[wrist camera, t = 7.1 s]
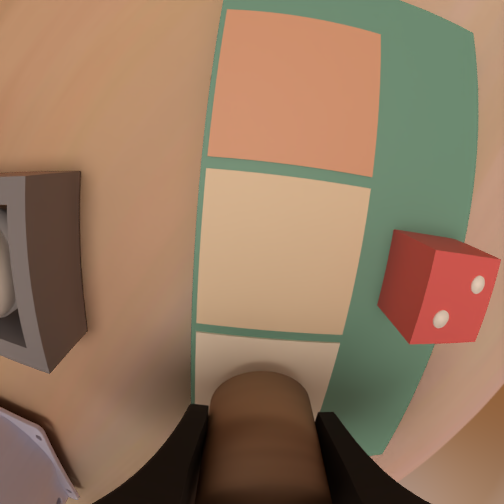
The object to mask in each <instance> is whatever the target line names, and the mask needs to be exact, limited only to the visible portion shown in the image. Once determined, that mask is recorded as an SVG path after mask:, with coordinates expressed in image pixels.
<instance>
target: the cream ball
mask: <svg viewBox="0 0 504 504" xmlns="http://www.w3.org/2000/svg"><path fill="white" fill-rule="evenodd" d="M17 308H18V307H17V302H16V296H15V290H14V284H13V277H12V270H11V261H10V252H9V240H8V225H7V205H0V318H2V317H6V316H8V315H9V314H11V313H12V312H13V311H15V310H16V309H17Z"/></svg>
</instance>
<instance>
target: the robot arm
mask: <svg viewBox="0 0 504 504" xmlns="http://www.w3.org/2000/svg"><path fill="white" fill-rule="evenodd" d="M208 410H209V406H208V405H200V404H193V403H192V404H190V405H189V406H188V409H187V411H186V412H185V414H184V416H183V418H182V419H181V421H180V422H179V424H178V425H177V427H176V428H175V430H174V431H173V433H172V434H171V435H170V437H169V438H168V439H167V441H166V442H165V443H164V444H163V446H162V447H161V448H160V449H159V450H158V451H157V452H156V454H155V455H154V456H153V457H152V458H151V459H150V460H149V461H148V462H147V463H146V464H145V465H144V466H143V467H142V468H141V469H140V470H139V471H138V472H137V473H135V474H134V475H133V476H132V477H131V478H129V479H128V480H127V481H126V482H124V483H123V484H122V485H121V486H119V487H118V488H116V489H115V490H114V491H112V492H110V493H109V494H107V495H106V496H104V497H103V498H101V499H99V500H98V501H96V502H94V503H92V504H195V498H196V491H197V484H198V478H199V471H200V465H201V458H202V452H203V445H204V440H205V435H206V429H207V422H208ZM315 425H316V430H317V434H318V439H319V443H320V448H321V452H322V457H323V462H324V466H325V471H326V476H327V480H328V485H329V490H330V495H331V499H332V504H430V503H429V502H427V501H424V500H423V499H421V498H420V497H418V496H416V495H415V494H413V493H412V492H410V491H409V490H407V489H406V488H404V487H403V486H401V485H400V484H399V483H397V482H396V481H395V480H394V479H392V478H391V477H390V476H389V475H388V474H387V473H385V472H384V471H383V470H382V469H381V468H380V467H379V466H378V465H377V464H376V463H375V462H374V461H373V460H372V459H371V458H370V457H369V456H368V454H367V453H366V452H365V451H364V450H363V449H362V448H361V446H360V445H359V444H358V443H357V442H356V440H355V439H354V438H353V437H352V435H351V434H350V433H349V431H348V430H347V429H346V428H345V426H344V425H343V424H342V422H341V421H340V419H339V418H338V417H337V415H336V414H335V413H334V412H318V414H317V417H316V420H315ZM68 497H70V498H73V499H75V500H78V499H79V497H80V496H79V494H78V493H77V491H76V490H75V488H74V486H73V485H72V483H71V481H70V479H69V478H68V476H67V474H66V472H65V471H64V469H63V467H62V465H61V463H60V462H59V460H58V458H57V456H56V454H55V452H54V450H53V448H52V446H51V444H50V442H49V440H48V438H47V435H46V433H45V431H44V430H43V428H42V427H40V426H39V425H37V424H35V423H33V422H31V421H28V420H26V419H24V418H22V417H20V416H18V415H16V414H14V413H11V412H9V411H7V410H5V409H4V408H2V407H0V504H65V503H66V501H67V499H68Z"/></svg>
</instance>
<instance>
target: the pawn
mask: <svg viewBox="0 0 504 504" xmlns="http://www.w3.org/2000/svg"><path fill="white" fill-rule="evenodd" d="M195 504H332V499H331V495H330V490H329V485H328V480H327V476H326V471H325V466H324V462H323V457H322V452H321V448H320V443H319V439H318V434H317V430H316V425H315V421H314V416H313V412H312V408H311V403H310V399H309V396H308V393H307V391H306V390H305V388H304V387H303V386H302V385H301V384H300V383H299V382H298V381H296V380H294V379H293V378H291V377H289V376H287V375H284V374H281V373H276V372H270V371H253V372H247V373H243V374H239V375H236V376H234V377H232V378H230V379H228V380H226V381H225V382H223V383H222V384H221V385H220V386H219V387H218V388H217V389H216V390H215V392H214V393H213V395H212V398H211V402H210V408H209V414H208V422H207V429H206V435H205V440H204V445H203V452H202V458H201V465H200V471H199V478H198V484H197V491H196V498H195Z"/></svg>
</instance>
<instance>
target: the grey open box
mask: <svg viewBox="0 0 504 504" xmlns="http://www.w3.org/2000/svg"><path fill="white" fill-rule="evenodd" d="M79 195H80V171H41V172H11V173H0V205H7V225H8V240H9V252H10V261H11V270H12V277H13V284H14V290H15V296H16V302H17V307H18V308H17V309H16V310H15V311H13V312H12V313H11V314H9V315H8V316H6V317H2V318H0V355H1V356H4V357H6V358H8V359H11V360H13V361H16V362H18V363H21V364H24V365H26V366H29V367H32V368H34V369H37V370H40V371H43V372H46V373H49V374H50V373H51V372H52V371H53V369H54V368H55V367H56V366H57V365H58V364H59V362H60V361H61V360H62V359H63V358H64V357H65V356H66V355H67V353H68V352H69V351H70V350H71V349H72V348H73V347H74V346H75V344H76V343H77V342H78V341H79V340H80V339H81V338H82V337H83V336H84V335H85V333H86V332H87V324H86V316H85V308H84V298H83V288H82V276H81V261H80V236H79Z"/></svg>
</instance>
